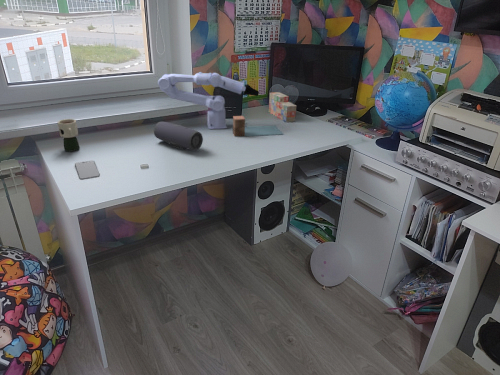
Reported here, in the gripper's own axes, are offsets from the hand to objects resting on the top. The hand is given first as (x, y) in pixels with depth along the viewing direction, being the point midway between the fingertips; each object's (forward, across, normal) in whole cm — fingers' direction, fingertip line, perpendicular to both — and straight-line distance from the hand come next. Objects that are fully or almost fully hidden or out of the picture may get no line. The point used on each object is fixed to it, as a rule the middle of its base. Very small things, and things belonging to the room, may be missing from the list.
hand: (257, 93), depth 194 cm
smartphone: (-60, -49, +50) cm, 92 cm away
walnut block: (-4, -7, +22) cm, 24 cm away
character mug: (-73, -28, +49) cm, 93 cm away
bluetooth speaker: (-30, -23, +35) cm, 51 cm away
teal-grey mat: (+8, -1, +18) cm, 19 cm away
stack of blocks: (+20, +25, +8) cm, 33 cm away
